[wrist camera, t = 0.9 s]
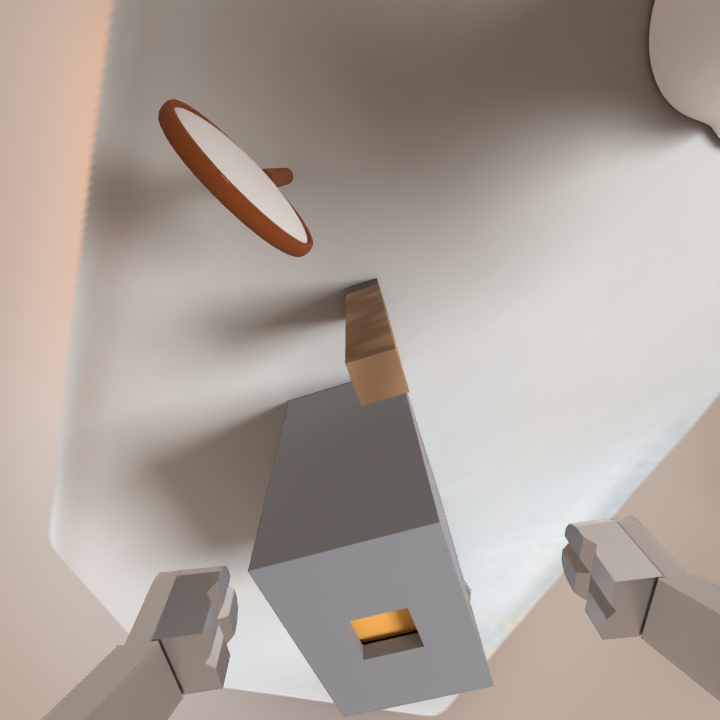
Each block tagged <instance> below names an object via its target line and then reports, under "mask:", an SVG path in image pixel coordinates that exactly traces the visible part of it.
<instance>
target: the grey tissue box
mask: <svg viewBox="0 0 720 720" xmlns="http://www.w3.org/2000/svg"><path fill="white" fill-rule="evenodd" d="M248 572H249V574H250V575H251V577H252V578H253V580H254V581H255V583H256V584H257V586H258V587H259V589H260V591H261V592H262V594H263V595H264V597H265V598H266V600H267V601H268V603H269V604H270V606H271V607H272V609H273V610H274V612H275V613H276V615H277V616H278V618H279V619H280V621H281V622H282V624H283V625H284V627H285V628H286V630H287V631H288V633H289V635H290V636H291V638H292V639H293V641H294V642H295V644H296V645H297V647H298V648H299V650H300V651H301V653H302V654H303V656H304V657H305V659H306V660H307V662H308V663H309V665H310V666H311V668H312V669H313V671H314V672H315V674H316V675H317V677H318V679H319V680H320V682H321V683H322V685H323V686H324V688H325V689H326V691H327V692H328V694H329V695H330V697H331V698H332V700H333V701H334V703H335V704H336V706H337V707H338V708H339V710H340V712H341V713H342V715H343V716H344V717H348V716H353V715H358V714H363V713H367V712H372V711H377V710H382V709H386V708H391V707H396V706H401V705H406V704H410V703H415V702H420V701H425V700H429V699H434V698H439V697H444V696H448V695H453V694H458V693H463V692H467V691H472V690H477V689H481V688H486V687H491V686H494V685H493V681H492V678H491V675H490V671H489V668H488V664H487V660H486V657H485V653H484V650H483V646H482V643H481V639H480V636H479V632H478V628H477V625H476V621H475V618H474V614H473V611H472V607H471V604H470V600H469V597H468V593H467V590H466V586H465V583H464V579H463V576H462V572H461V569H460V565H459V561H458V558H457V554H456V551H455V547H454V544H453V540H452V537H451V533H450V530H449V526H448V523H447V519H446V516H445V512H444V509H443V505H442V501H441V498H440V494H439V491H438V488H437V485H436V482H435V479H434V476H433V472H432V469H431V466H430V463H429V460H428V457H427V454H426V450H425V447H424V444H423V441H422V438H421V435H420V431H419V428H418V425H417V422H416V419H415V416H414V413H413V409H412V406H411V403H410V400H409V397H408V394H407V393H404V394H401V395H397V396H394V397H390V398H387V399H384V400H380V401H377V402H373V403H370V404H367V405H363V406H361V403H360V401H359V398H358V395H357V393H356V390H355V388H354V385H353V382H350V383H346V384H343V385H340V386H336V387H333V388H330V389H326V390H323V391H320V392H317V393H313V394H310V395H307V396H303V397H300V398H297V399H293V400H290V401H289V403H288V408H287V412H286V416H285V420H284V424H283V428H282V432H281V436H280V441H279V445H278V449H277V453H276V457H275V461H274V465H273V470H272V474H271V478H270V482H269V486H268V490H267V494H266V499H265V503H264V507H263V511H262V515H261V519H260V523H259V527H258V532H257V536H256V540H255V544H254V548H253V552H252V556H251V561H250V565H249V569H248ZM404 608H408V610H409V612H410V614H411V617H412V619H413V621H414V624H415V626H416V628H417V631H412V632H408V633H404V634H399V635H395V636H391V637H386V638H382V639H378V640H373V641H369V642H365V643H361V641H360V639H359V638H358V636H357V634H356V632H355V630H354V628H353V627H352V625H351V623H350V621H353V620H357V619H362V618H366V617H370V616H374V615H379V614H383V613H387V612H391V611H395V610H400V609H404Z"/></svg>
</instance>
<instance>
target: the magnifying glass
mask: <svg viewBox="0 0 720 720" xmlns="http://www.w3.org/2000/svg"><path fill="white" fill-rule="evenodd" d="M158 120H159V123H160V126H161V128H162V130H163V132H164V134H165V136H166V138H167V139H168V141H169V142H170V144H171V145H172V147H173V148H174V150H175V151H176V153H177V154H178V155H179V156H180V158H181V159H182V160H183V162H184V163H185V164H186V165H187V166H188V168H189V169H190V170H191V171H192V172H193V174H194V175H195V176H196V177H197V178H198V179H199V180H200V181H201V183H202V184H203V185H204V186H205V187H206V188H207V189H208V190H209V191H210V192H211V193H212V194H213V195H214V196H215V197H216V198H217V199H218V200H219V201H220V202H221V203H222V204H223V205H224V206H225V207H226V208H227V209H228V210H229V211H230V212H231V213H233V214H234V215H235V216H236V217H237V218H238V219H239V220H240V221H241V222H243V223H244V224H245V225H246V226H247V227H248V228H250V229H251V230H252V231H253V232H255V233H256V234H257V235H258V236H260V237H261V238H262V239H264V240H265V241H266V242H268V243H269V244H271V245H272V246H274V247H275V248H277V249H279V250H280V251H282V252H284V253H286V254H289V255H291V256H294V257H301V256H304V255H306V254H307V253H308V252H309V251H310V250H311V248H312V246H313V240H312V237H311V234H310V232H309V230H308V228H307V226H306V225H305V223H304V222H303V220H302V219H301V217H300V216H299V214H298V213H297V212H296V210H295V209H294V208H293V206H292V205H291V204H290V202H289V201H288V200H287V199H286V197H285V196H284V195H283V194H282V193H281V191H280V190H279V189H278V188H277V187H280V186H283V185H286V184H289V183H291V182H292V180H293V173H292V172H291V170H290V169H288V168H275V169H261V168H260V167H259V166H258V165H257V164H256V163H255V162H254V161H253V160H252V159H251V158H250V157H249V156H248V155H247V154H246V153H245V152H244V151H243V150H241V149H240V148H239V147H238V146H237V145H236V144H235V143H234V142H233V141H232V140H231V139H230V138H229V137H228V136H227V135H225V134H224V133H223V132H222V131H221V130H220V129H219V128H218V127H216V126H215V125H214V124H213V123H212V122H210V121H209V120H208V119H207V118H205V117H204V116H203V115H202V114H200V113H199V112H198V111H196V110H195V109H193V108H192V107H190V106H188V105H187V104H185V103H183V102H181V101H178V100H175V99H172V100H169V101H167V102H165V103H164V104H163V106H162V107H161V109H160V111H159V118H158Z"/></svg>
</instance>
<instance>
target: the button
mask: <svg viewBox="0 0 720 720" xmlns="http://www.w3.org/2000/svg"><path fill="white" fill-rule="evenodd" d="M350 623H351V625H352V627H353V628H354V630H355V632H356V634H357V636H358V638H359V639H360V641H361V643H365V642H369V641H373V640H378V639H382V638H386V637H391V636H395V635H399V634H404V633H408V632H412V631H417V628H416V626H415V624H414V621H413V619H412V617H411V614H410V612H409V610H408V608H404V609H400V610H395V611H391V612H387V613H383V614H379V615H374V616H370V617H366V618H362V619H357V620H353V621H350Z"/></svg>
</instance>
